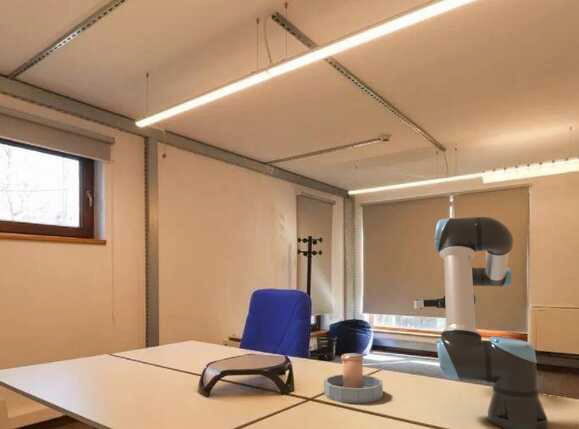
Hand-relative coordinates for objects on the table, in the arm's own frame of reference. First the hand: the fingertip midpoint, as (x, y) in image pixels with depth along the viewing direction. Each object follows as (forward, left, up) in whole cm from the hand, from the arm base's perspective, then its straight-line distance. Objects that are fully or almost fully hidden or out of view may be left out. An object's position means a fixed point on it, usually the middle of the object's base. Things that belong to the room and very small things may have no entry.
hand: (432, 305), depth 156 cm
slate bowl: (-10, +28, -30) cm, 43 cm away
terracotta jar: (-10, +28, -29) cm, 42 cm away
